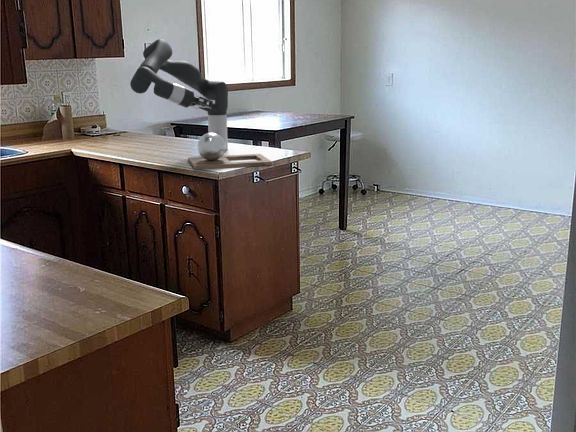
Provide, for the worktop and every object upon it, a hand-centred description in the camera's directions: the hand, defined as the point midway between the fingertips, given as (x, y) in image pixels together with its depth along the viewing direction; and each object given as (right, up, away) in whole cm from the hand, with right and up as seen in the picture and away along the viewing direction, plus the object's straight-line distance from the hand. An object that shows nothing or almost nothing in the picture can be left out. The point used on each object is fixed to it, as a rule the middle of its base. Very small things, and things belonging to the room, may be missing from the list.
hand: (214, 109), depth 262 cm
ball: (-2, -15, +8) cm, 17 cm away
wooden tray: (+5, -22, +12) cm, 25 cm away
